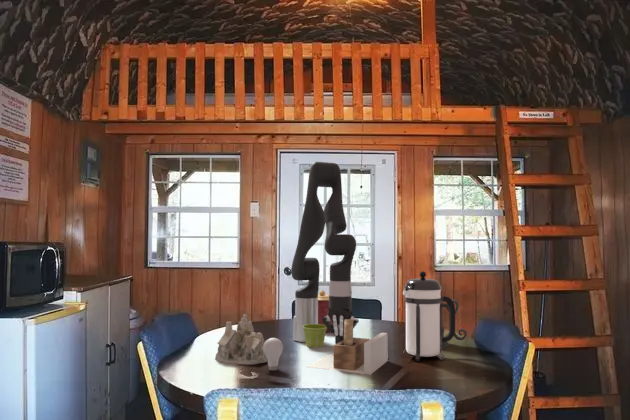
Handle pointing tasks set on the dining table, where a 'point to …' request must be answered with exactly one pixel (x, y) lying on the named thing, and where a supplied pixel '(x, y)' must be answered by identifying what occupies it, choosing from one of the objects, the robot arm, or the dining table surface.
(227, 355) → the ceramic cottage
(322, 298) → the canister
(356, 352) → the wooden square-hole block
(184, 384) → the dining table surface
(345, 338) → the dowel
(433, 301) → the coffee press
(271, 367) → the lightbulb
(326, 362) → the l-shaped bookend
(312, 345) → the plant pot
